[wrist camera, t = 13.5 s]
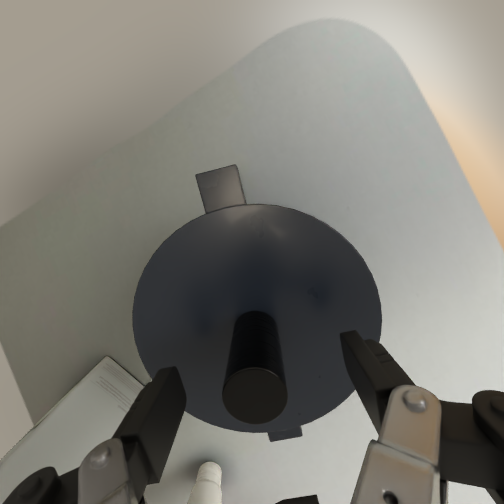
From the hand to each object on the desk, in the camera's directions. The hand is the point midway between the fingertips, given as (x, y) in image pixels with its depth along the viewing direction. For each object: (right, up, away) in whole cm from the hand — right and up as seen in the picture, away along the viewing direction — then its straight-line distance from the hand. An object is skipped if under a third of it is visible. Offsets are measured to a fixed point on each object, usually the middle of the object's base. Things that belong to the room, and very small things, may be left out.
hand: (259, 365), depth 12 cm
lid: (0, +1, +3) cm, 3 cm away
